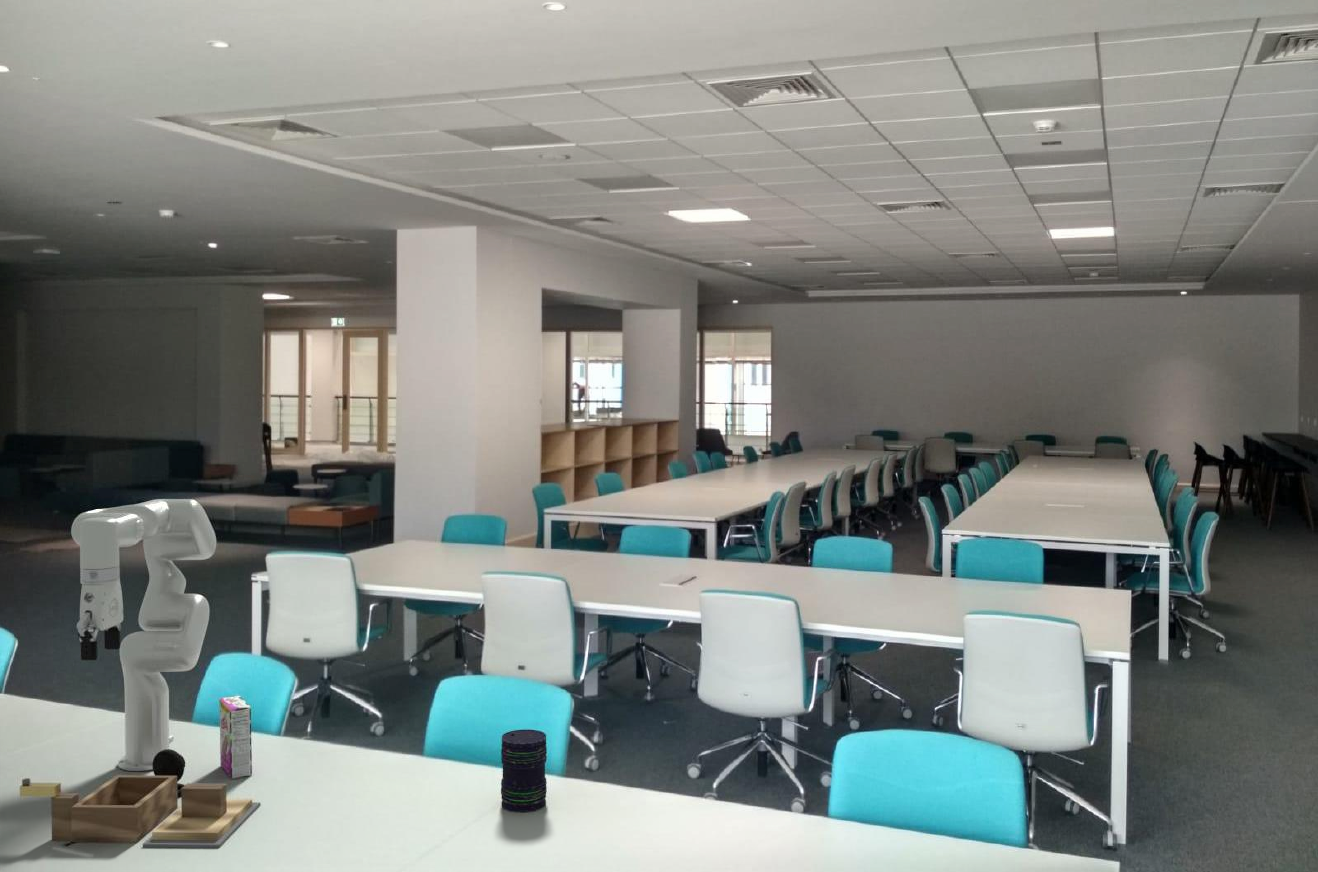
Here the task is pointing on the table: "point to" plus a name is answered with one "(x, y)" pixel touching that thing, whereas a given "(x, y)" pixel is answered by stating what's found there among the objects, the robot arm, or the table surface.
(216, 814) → the lid
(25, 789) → the yellow bar with ball
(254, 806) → the mat
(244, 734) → the candy bar box
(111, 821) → the open wooden box
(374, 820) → the table surface
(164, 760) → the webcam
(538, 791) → the storage jar
